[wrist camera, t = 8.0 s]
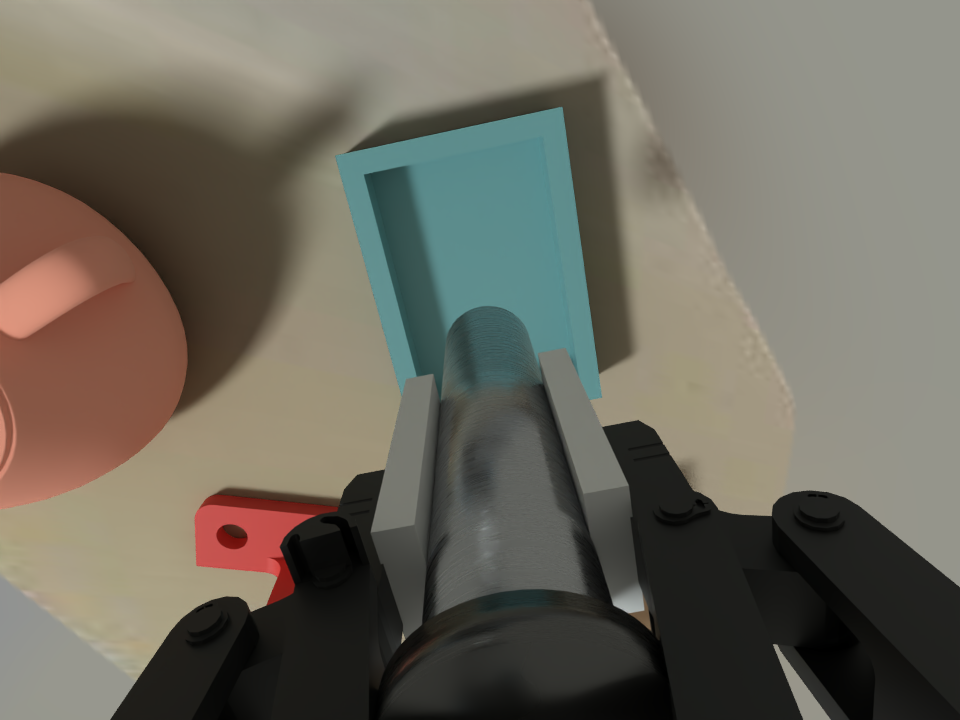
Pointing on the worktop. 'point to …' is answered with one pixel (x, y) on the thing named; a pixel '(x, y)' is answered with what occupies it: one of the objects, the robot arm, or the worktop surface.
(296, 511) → the bracket
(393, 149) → the tray
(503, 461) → the pin
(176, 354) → the teapot
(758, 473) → the worktop surface
